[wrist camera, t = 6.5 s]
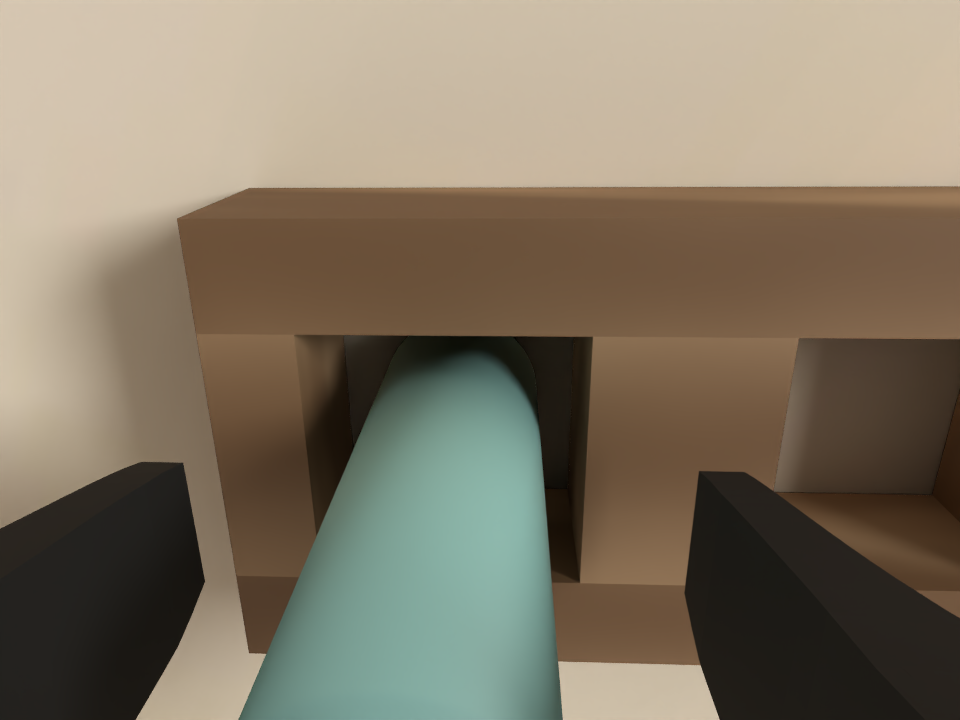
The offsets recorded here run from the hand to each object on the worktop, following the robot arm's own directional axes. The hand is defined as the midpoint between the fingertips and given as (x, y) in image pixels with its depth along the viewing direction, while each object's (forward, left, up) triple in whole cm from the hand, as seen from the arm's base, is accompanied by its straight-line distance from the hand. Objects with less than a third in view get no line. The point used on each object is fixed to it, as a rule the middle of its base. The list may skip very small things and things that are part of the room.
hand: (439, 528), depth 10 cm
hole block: (0, -4, -5) cm, 6 cm away
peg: (0, 0, -5) cm, 5 cm away
